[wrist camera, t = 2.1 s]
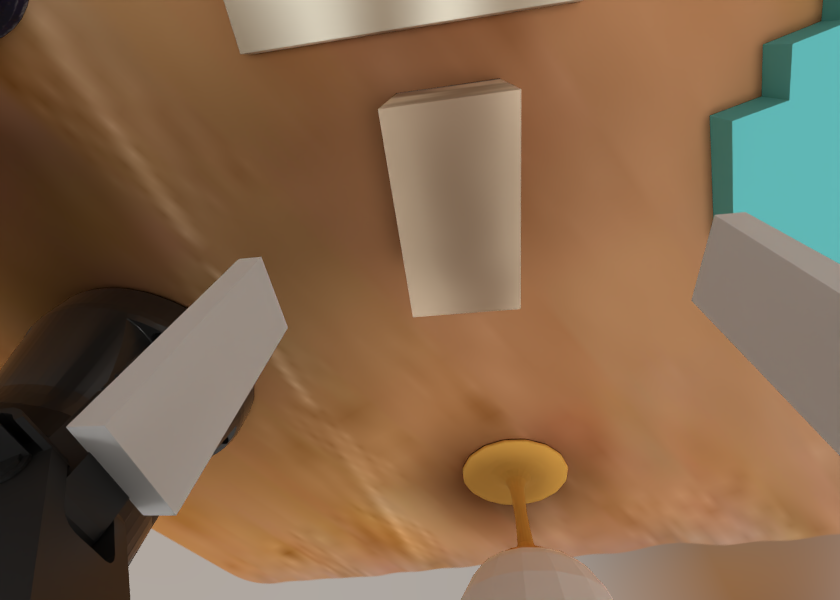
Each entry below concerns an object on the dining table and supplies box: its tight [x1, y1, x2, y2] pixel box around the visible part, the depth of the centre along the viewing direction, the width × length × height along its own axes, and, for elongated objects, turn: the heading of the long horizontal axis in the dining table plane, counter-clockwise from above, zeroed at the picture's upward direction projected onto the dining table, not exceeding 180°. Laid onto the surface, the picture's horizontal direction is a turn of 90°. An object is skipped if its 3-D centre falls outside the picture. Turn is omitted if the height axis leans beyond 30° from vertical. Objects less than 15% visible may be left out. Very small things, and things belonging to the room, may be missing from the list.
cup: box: [461, 439, 613, 600], centre depth 28 cm, size 12×12×17 cm
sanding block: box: [378, 78, 521, 317], centre depth 19 cm, size 5×9×6 cm, turn 8°
